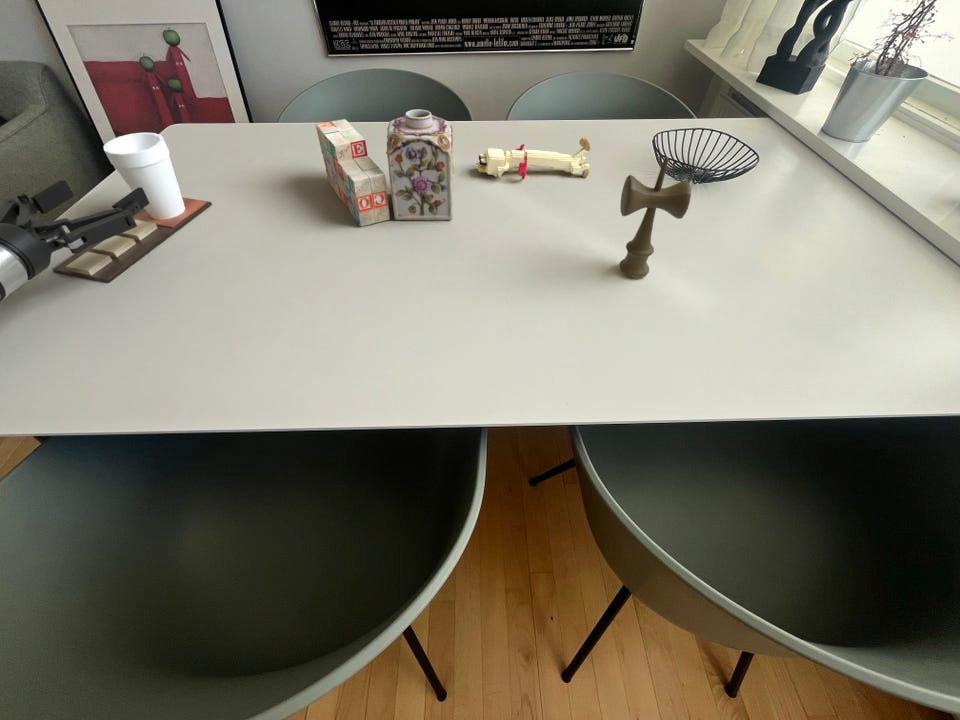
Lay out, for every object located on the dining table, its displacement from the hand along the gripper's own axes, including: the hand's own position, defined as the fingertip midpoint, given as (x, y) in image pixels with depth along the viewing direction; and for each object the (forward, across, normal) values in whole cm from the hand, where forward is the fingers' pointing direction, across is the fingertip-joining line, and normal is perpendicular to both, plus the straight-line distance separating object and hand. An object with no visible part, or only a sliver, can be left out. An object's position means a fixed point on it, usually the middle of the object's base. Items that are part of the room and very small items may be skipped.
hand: (105, 191), depth 81 cm
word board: (+2, 0, -9) cm, 10 cm away
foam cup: (+10, +1, -8) cm, 13 cm away
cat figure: (+39, +71, -7) cm, 81 cm away
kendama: (+4, +90, -8) cm, 91 cm away
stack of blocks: (+21, +36, -8) cm, 42 cm away
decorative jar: (+20, +50, -8) cm, 55 cm away
